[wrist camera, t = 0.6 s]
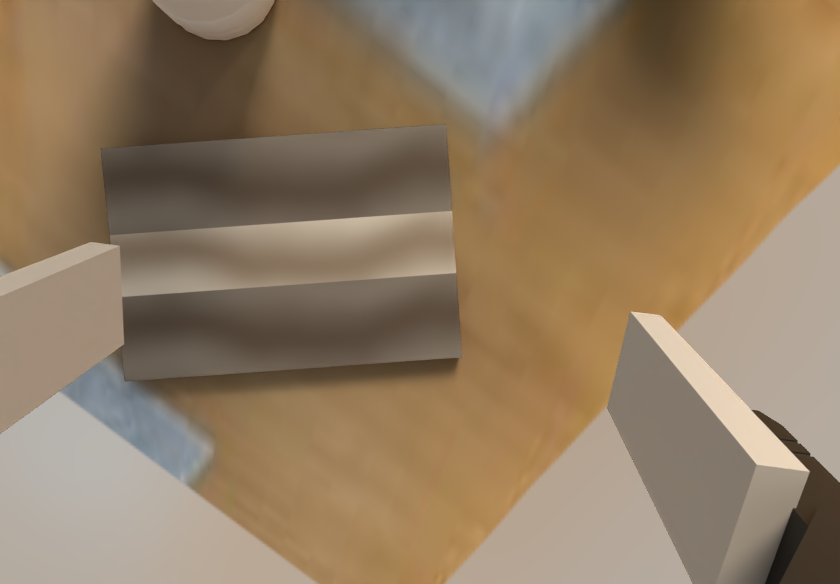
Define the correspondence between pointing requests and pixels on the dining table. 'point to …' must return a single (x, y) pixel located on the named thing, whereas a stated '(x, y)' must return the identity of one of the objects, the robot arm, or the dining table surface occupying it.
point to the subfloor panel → (284, 252)
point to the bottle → (216, 16)
